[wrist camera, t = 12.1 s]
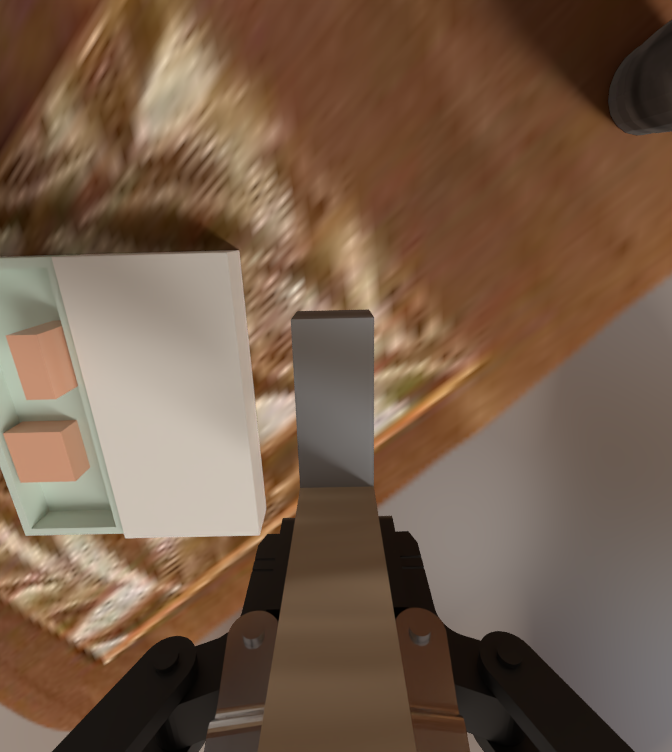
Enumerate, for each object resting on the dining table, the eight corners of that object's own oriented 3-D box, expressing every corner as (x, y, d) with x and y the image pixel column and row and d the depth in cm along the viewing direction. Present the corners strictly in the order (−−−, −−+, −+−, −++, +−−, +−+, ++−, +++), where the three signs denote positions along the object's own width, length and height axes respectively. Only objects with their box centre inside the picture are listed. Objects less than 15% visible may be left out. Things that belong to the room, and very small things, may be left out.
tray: (-38, 257, 25) (-77, 260, 23) (80, 254, 25) (53, 256, 23) (48, 513, 32) (25, 535, 30) (141, 511, 32) (125, 533, 30)
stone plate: (83, 254, 25) (51, 257, 22) (239, 250, 25) (227, 252, 22) (143, 511, 32) (125, 538, 29) (266, 508, 32) (259, 535, 29)
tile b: (60, 431, 27) (77, 419, 29) (2, 433, 27) (22, 421, 29) (75, 481, 28) (90, 467, 30) (20, 482, 28) (38, 468, 30)
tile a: (79, 319, 26) (52, 320, 26) (37, 334, 22) (5, 335, 22) (94, 376, 28) (68, 377, 28) (55, 399, 24) (26, 400, 24)
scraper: (297, 311, 14) (206, 425, 4) (368, 309, 14) (442, 421, 4) (313, 625, 18) (285, 1056, 8) (369, 624, 18) (407, 1055, 8)
